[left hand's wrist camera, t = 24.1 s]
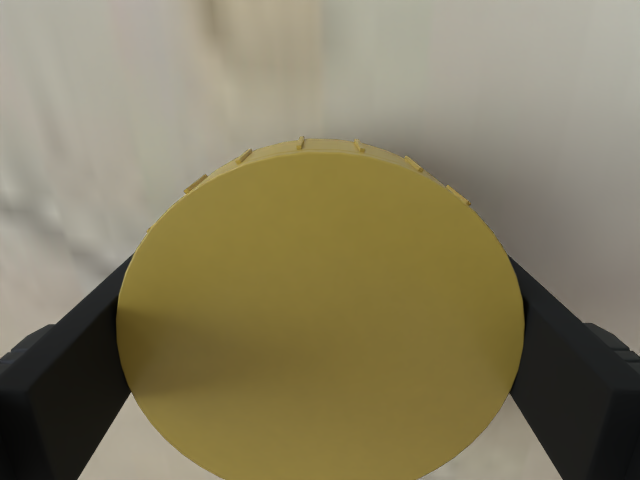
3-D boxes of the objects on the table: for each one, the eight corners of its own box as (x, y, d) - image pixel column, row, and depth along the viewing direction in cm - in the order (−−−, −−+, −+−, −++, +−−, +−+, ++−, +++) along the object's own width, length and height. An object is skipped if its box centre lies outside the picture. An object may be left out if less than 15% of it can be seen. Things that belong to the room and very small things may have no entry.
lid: (304, 484, 15) (301, 550, 13) (76, 293, 12) (25, 336, 10) (555, 327, 12) (602, 375, 10) (343, 46, 10) (349, 36, 8)
